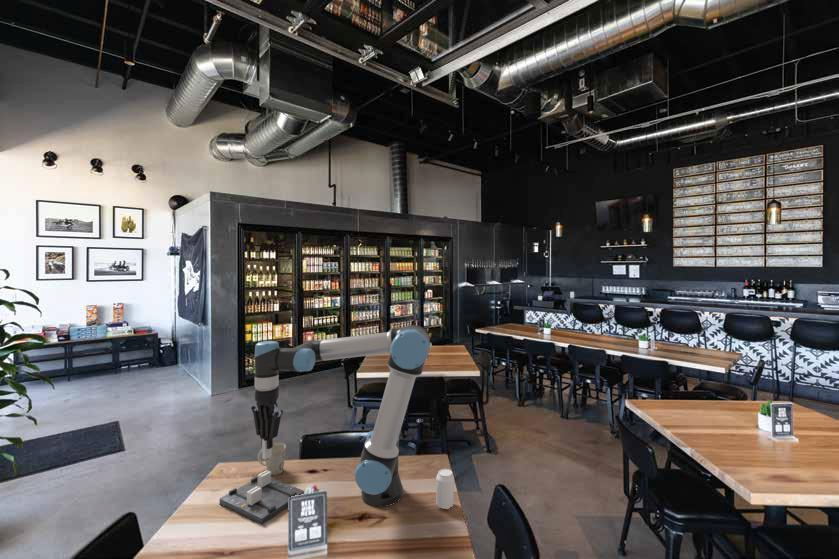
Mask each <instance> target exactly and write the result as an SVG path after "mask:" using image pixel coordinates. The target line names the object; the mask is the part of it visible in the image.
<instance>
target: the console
mask: <svg viewBox="0 0 839 559" xmlns="http://www.w3.org/2000/svg"><path fill="white" fill-rule="evenodd" d="M256 486H258V475H257V476H255V477H253V478H251V479H250V481H249V482H246V483H245V484H244V485H242V486H239V487H238V488H236V487H234V488H232V489H231V490H229V491H228V493H226V494H225V495H223V496H222V497H219V505H220V506H223V507H224V508H227V509H229V510H230V511H233V512H235V513H237V514H239V515H241V516H243V517H244V518H245V517H246V518H247V519H249V520H251V521H253V522H256V523H257V524H259V525H262V526H263V525H264V524H265V523H267V522H269V520H271V519H274V518H275V517H276V516H277V515H279V514H280V513H282V512H283V511H284V510H287V508H289V507H288V498H289V497H291V496H295V495H301V494H304V495H305V490H304V489H300V488H298V487H295V486H293V485H291V484H287V483H285V482H282V481H280V480H278V479H275V478H274V477H273V478H272V477H271V483H269V484H267V485H266V486H264V487H260V488H261V500H260V501H258V502H256V503H255V504H253V505H252V506H251V505H249V504H247V491H249V490H251V489H253V488H254V487H256ZM258 487H259V486H258Z"/></svg>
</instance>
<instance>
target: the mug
mask: <svg viewBox="0 0 839 559" xmlns="http://www.w3.org/2000/svg"><path fill="white" fill-rule="evenodd" d="M272 445H273V447H272V456H271V457H269V458H267V459H264V460H265V462H263V461H262V449H260V450H259V451H258V453H257V458H256V459H257V461H258V463H259V464H260V465H261V466H263V467H265V468H266V470H268V471H270V472H271V476H277V475H280V474H281V473H282V472H284V467H285V459H286V458H285V457H286V451H287V445H286V444H285V443H283V442H274V443H273V444H272Z"/></svg>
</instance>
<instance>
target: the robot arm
mask: <svg viewBox="0 0 839 559" xmlns="http://www.w3.org/2000/svg"><path fill="white" fill-rule="evenodd" d="M430 345H431V339H430V335H429V334H428V332H427V331H426V329H425V328H424V327H422V326H420V325H416V324H410V325H404V326H402V327H396V328H390V329H389V330H388V331H387V332H386V331H385V332H380V333H379V332H378V333H377V332H376V333H370V334H360V335H353V336H352V335H351V336H345V337H337V338H329V339H320V340H317V339H311V340H307V341H305V342H304V343H302V344H299V345H297V346H295V347H288V348H287V347H285V348H284V347H280V344H279V342H278V341H274V340H265V341H259V342H257V343H256V344H255V347H254V388H255V389H254V400H255V402H256V403H255V404H254V405H253V406H251V407H250V408H251V411H252V413H253V415H252V416H253V421H254V426H255V432H256V435H257V436H259V437H260V440H261V442H260V443H261V445H260V446H261V450H262V454H261V460H265V459H267V458H269V457H271V456H272V447H273V445H272V444H273V439H274V438H277V437H278V434H279V428H280V424H281V418H282V416H283V413H284V410H282V409H279V408H278V402H277V400H278V399H279V397H280V394H279V393H280V390H279V389H280V388H279V387H278V386H279V383H280V382H279V381H280V379H279V377H280V375H279V374H280V372H281V371H282V372H284V371H285V372H301V373H302V372H310V371H312V370H313V369H314V366H315V364H316V362H323V361H331V360H332V361H333V360H340V359H348V358H349V359H351V358H358V357H366V356H374V355H375V356H376V355H383V354H389V358H388V361H387V366H388V369H389V370H390V371H389V375H388V378H387V381H386V385H385V389H384V392H383V396H382V399H381V401H380V402H381V403H380V406H379V410H378V413H377V417H376V420H375V423H374V428H373V430H370V431H369V432H368V433H367V434H366V440H365V441H364V445H363V449H362V452H361V456H360V459H359V462H358V465H357V466H356V467H355V472H354V480H355V483H356V485H357V486H358V488H359V489H360V490H361V500H362V501H363V502H364V503H366V504H367V505H369V506H372V507H378V506H383V507H387V506H386V505H389V506H391V505H390V504H392V505H394V504H393V503H395V502H397V501H398V500H399V499H400V498H401V497H402V498H403V496H402V494H403V495H404V487H403V484H402V481H401V476H400V473H399V452H400V450H399V442H400V440H399V439H400V437H399V436H400V434H401V429H402V427H403V423H404V419H405V416H406V413H407V410H408V406H409V401H410V399H411V395H412V393H413V392H412V391H413V388H414V384H415V382H416V378H418V377H419V376H421V375H422V374H423V370H424V366H425V364H426V361H427V359H428V355H429V351H430ZM402 498H401V499H402ZM401 499H400V500H401ZM400 500H399V501H400ZM399 501H398V502H399ZM398 502H397V503H398ZM395 504H396V503H395Z"/></svg>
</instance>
